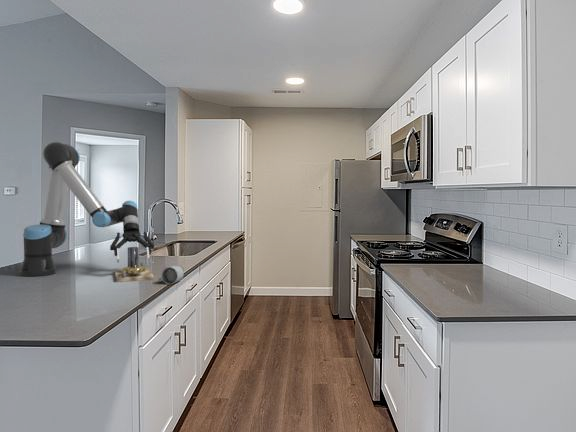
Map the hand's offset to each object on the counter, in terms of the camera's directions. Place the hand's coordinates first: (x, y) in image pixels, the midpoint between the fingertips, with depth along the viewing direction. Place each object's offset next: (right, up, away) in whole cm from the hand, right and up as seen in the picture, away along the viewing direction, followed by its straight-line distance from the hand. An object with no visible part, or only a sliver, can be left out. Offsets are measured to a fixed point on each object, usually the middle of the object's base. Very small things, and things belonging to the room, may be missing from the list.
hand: (133, 260), depth 205 cm
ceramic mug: (+21, -9, -13) cm, 27 cm away
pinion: (-1, -6, +3) cm, 7 cm away
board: (0, -8, +1) cm, 8 cm away
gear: (+3, -6, -6) cm, 9 cm away
